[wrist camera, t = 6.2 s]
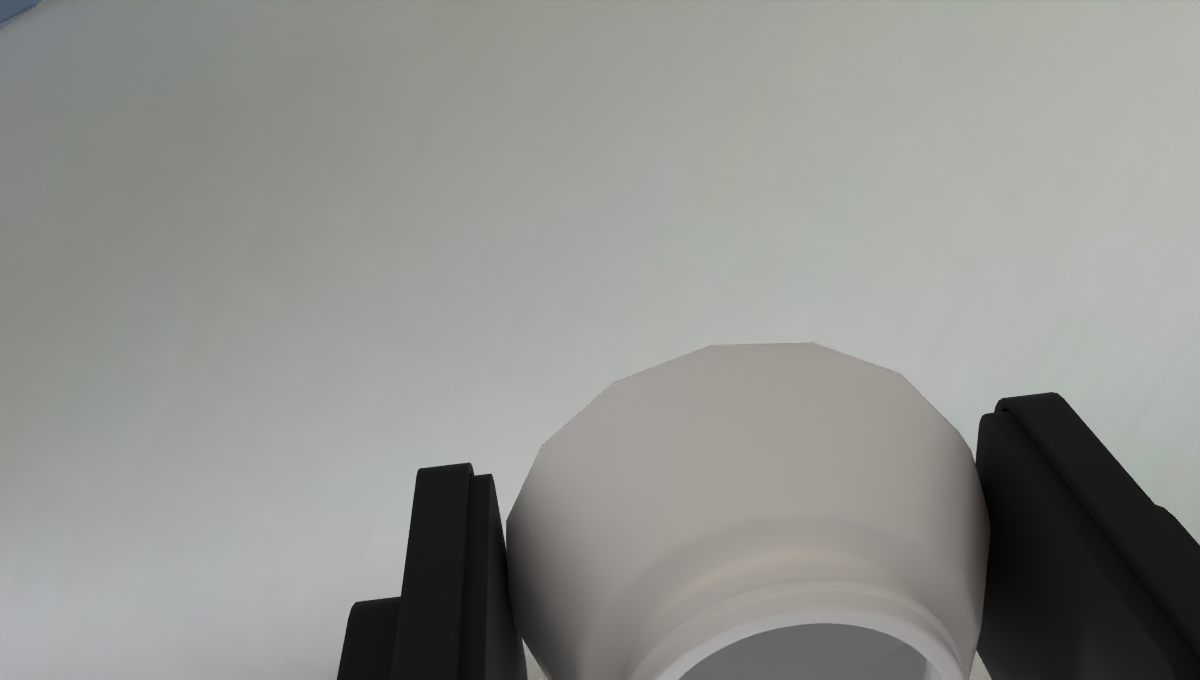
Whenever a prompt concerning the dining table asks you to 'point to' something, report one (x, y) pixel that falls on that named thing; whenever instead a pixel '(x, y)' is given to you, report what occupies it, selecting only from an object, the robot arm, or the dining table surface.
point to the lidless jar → (752, 527)
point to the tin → (14, 9)
